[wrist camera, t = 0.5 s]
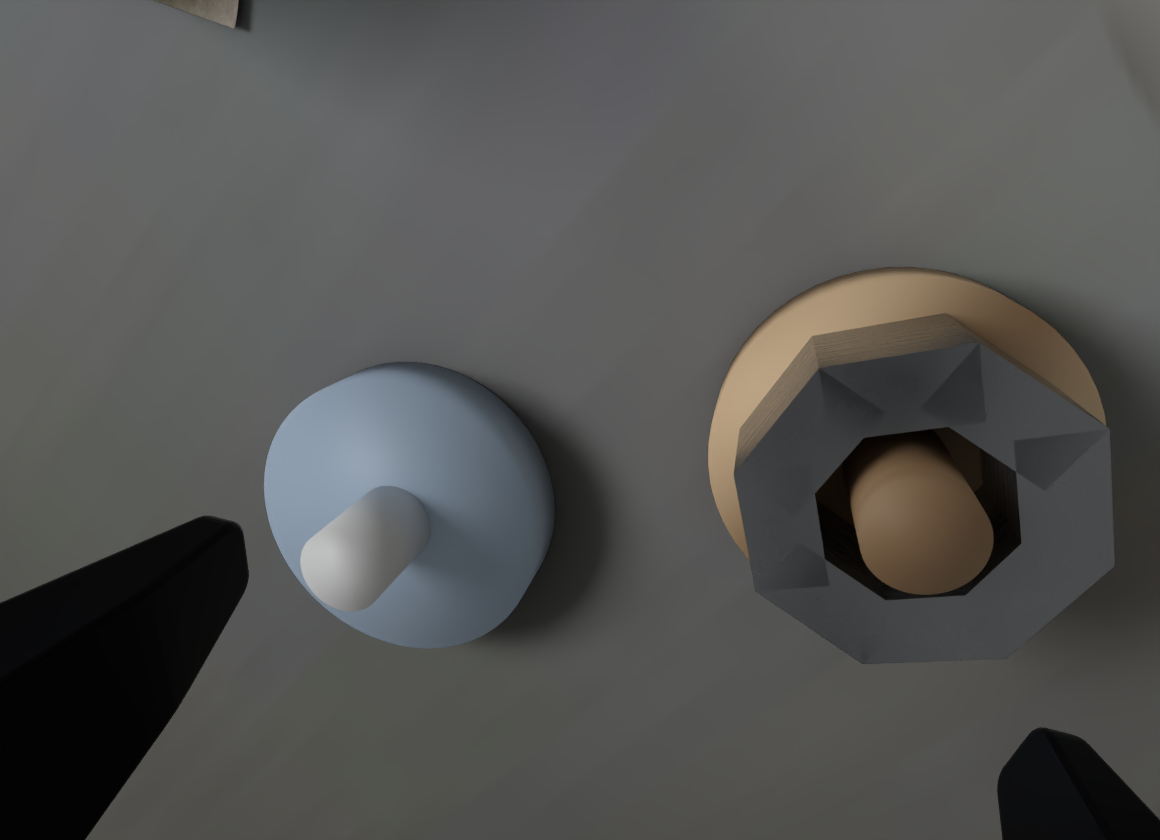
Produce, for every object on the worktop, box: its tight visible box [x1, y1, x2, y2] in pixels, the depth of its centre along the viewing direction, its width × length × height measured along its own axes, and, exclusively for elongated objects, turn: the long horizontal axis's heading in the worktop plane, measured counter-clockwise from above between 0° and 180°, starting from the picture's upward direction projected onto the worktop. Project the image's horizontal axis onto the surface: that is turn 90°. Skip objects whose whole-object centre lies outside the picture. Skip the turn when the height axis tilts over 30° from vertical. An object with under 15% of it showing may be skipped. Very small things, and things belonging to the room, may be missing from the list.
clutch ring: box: [734, 313, 1115, 664], centre depth 16 cm, size 7×7×3 cm
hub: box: [264, 362, 555, 648], centre depth 22 cm, size 9×9×5 cm
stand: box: [708, 267, 1106, 595], centre depth 17 cm, size 9×9×6 cm
